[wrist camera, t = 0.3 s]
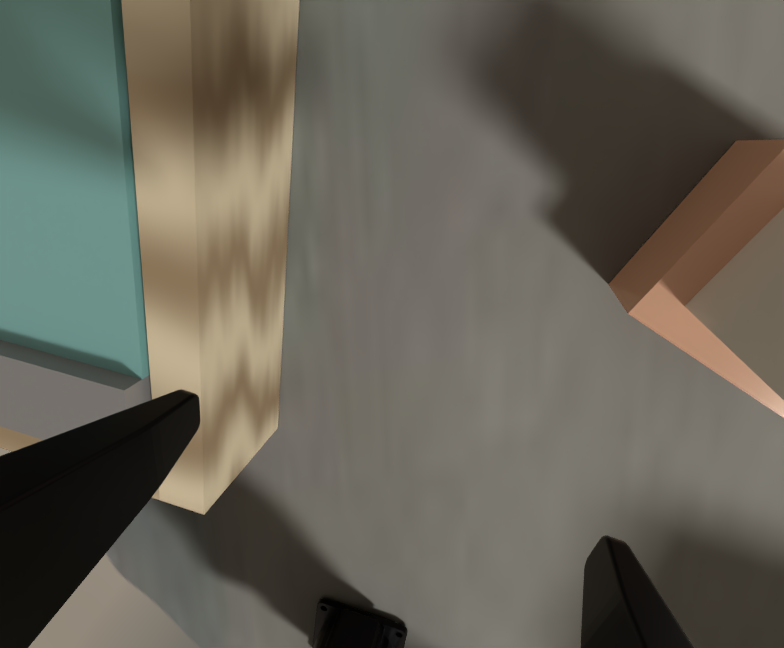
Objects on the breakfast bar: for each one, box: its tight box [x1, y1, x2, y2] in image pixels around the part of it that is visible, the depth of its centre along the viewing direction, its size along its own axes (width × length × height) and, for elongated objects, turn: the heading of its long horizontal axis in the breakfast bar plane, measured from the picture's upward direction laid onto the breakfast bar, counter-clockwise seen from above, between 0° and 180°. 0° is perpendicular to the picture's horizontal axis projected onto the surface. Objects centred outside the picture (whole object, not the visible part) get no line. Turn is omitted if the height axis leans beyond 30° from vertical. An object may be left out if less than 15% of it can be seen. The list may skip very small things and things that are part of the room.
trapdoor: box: [0, 0, 152, 440], centre depth 19 cm, size 18×10×3 cm, turn 172°
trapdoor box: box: [0, 0, 299, 515], centre depth 22 cm, size 23×16×7 cm
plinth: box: [608, 139, 784, 418], centre depth 17 cm, size 7×7×4 cm
